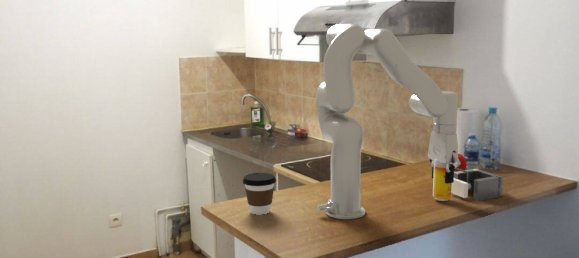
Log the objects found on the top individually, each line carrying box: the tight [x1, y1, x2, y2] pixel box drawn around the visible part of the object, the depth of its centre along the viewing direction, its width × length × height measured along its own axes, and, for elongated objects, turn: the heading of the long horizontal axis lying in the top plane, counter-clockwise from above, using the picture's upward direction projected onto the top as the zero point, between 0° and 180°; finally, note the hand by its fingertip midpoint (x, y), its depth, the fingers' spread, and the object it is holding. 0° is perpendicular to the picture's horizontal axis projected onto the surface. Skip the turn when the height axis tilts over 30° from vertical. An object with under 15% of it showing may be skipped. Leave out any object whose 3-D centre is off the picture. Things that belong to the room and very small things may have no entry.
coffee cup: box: [242, 172, 277, 216], centre depth 181 cm, size 11×11×12 cm
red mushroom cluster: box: [455, 153, 467, 172], centre depth 213 cm, size 9×7×10 cm
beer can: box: [432, 159, 452, 202], centre depth 189 cm, size 6×6×15 cm
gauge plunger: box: [451, 168, 471, 199], centre depth 194 cm, size 5×10×8 cm, turn 25°
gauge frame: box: [454, 168, 504, 202], centre depth 196 cm, size 11×12×7 cm
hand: (442, 180), depth 189 cm, fingers closed on beer can, 6 cm apart
